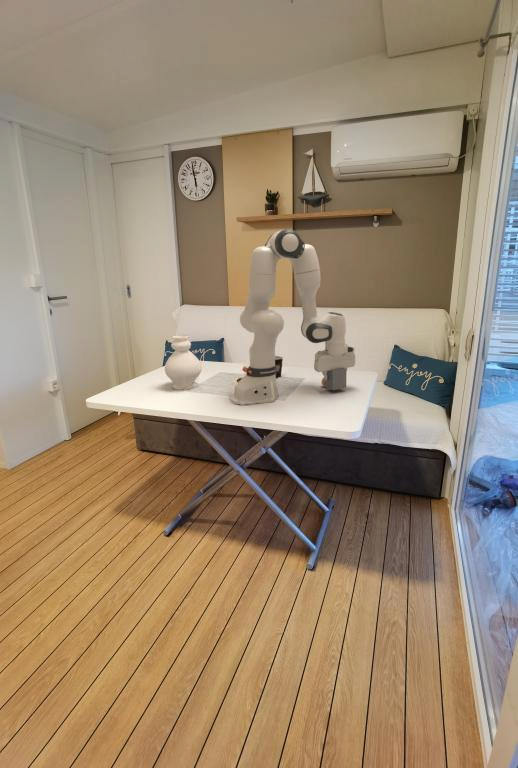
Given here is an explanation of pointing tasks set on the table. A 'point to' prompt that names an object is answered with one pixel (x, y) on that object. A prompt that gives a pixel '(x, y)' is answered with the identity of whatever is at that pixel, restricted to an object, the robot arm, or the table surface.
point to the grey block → (336, 379)
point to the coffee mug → (278, 365)
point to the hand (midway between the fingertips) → (334, 378)
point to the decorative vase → (182, 364)
